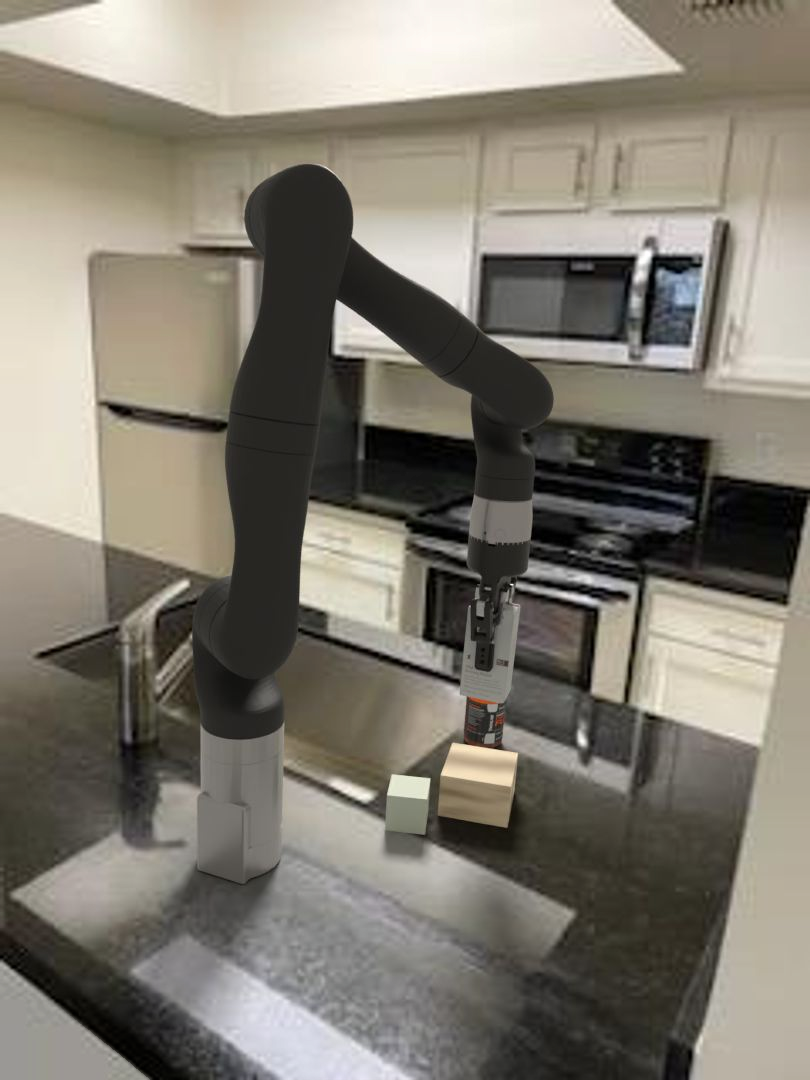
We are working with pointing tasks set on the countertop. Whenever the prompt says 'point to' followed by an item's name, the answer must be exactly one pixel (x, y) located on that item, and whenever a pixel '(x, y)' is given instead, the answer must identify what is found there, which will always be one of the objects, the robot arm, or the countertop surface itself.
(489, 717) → the supplement bottle
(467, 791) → the maple block
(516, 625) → the skincare box
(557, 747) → the countertop surface
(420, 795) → the sage block
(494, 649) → the robot arm
